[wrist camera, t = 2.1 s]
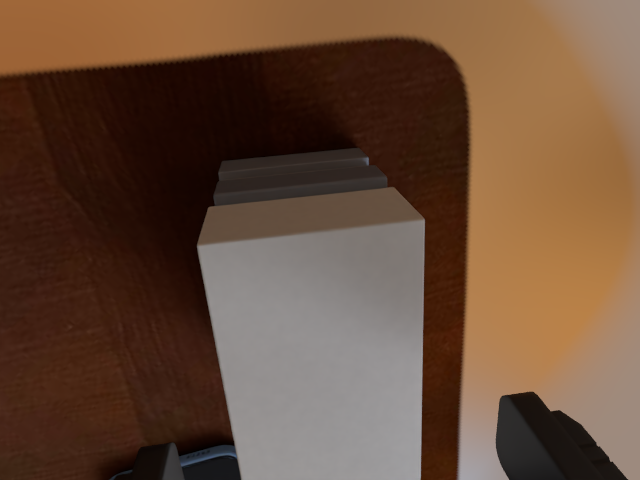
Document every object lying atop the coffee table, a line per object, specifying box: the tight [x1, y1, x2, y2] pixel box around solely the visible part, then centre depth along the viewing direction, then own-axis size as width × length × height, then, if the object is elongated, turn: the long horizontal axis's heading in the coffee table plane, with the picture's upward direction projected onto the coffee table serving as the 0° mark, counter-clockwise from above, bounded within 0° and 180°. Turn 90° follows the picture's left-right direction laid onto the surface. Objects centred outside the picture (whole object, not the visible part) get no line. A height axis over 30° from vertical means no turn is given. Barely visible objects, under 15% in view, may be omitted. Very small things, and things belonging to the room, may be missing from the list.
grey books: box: [213, 148, 387, 206], centre depth 19 cm, size 10×6×5 cm, turn 4°
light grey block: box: [197, 187, 425, 480], centre depth 15 cm, size 10×6×3 cm, turn 4°
